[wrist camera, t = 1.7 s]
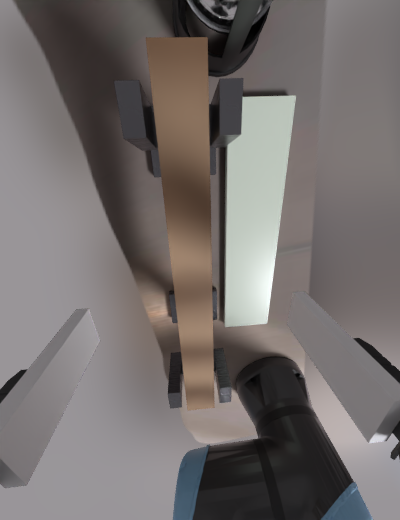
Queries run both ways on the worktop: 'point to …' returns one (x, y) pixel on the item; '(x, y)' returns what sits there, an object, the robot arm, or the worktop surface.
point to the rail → (187, 198)
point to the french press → (226, 28)
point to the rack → (145, 138)
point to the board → (254, 206)
